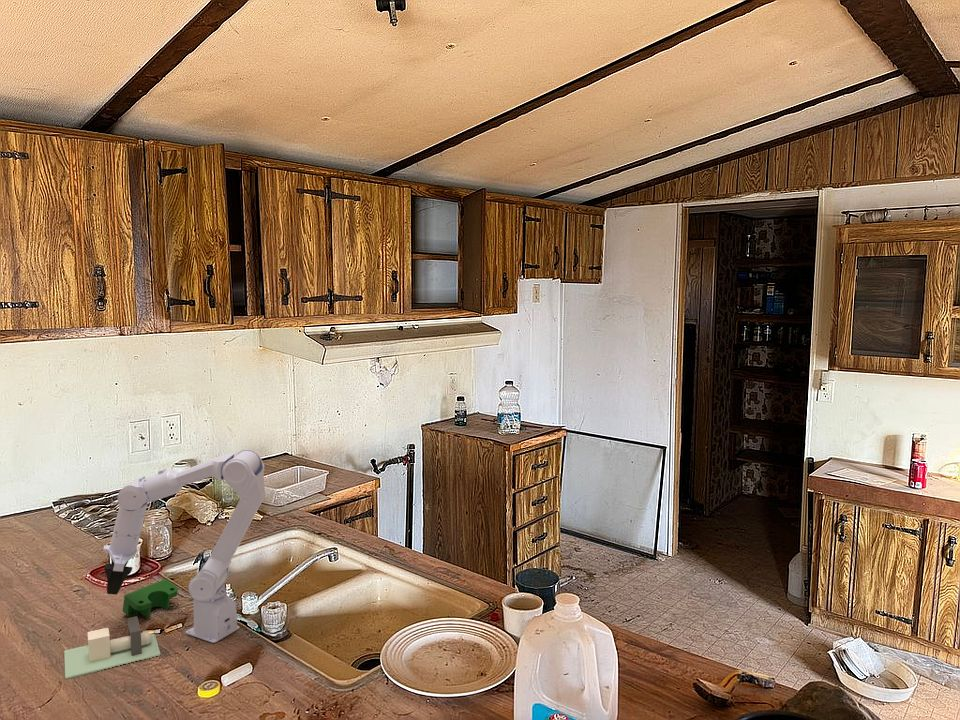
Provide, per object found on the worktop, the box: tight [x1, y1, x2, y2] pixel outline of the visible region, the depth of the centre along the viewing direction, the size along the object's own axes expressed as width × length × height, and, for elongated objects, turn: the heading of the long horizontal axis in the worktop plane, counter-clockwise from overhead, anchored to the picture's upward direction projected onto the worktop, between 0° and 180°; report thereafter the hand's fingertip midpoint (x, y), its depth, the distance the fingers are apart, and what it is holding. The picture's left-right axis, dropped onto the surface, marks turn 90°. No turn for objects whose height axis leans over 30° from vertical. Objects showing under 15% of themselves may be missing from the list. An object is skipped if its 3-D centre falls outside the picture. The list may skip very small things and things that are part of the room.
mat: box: [63, 633, 162, 680], centre depth 151 cm, size 18×12×1 cm, turn 122°
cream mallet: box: [87, 627, 152, 662], centre depth 152 cm, size 12×4×5 cm, turn 122°
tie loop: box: [127, 615, 142, 656], centre depth 153 cm, size 2×7×5 cm, turn 32°
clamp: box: [122, 578, 179, 619], centre depth 170 cm, size 12×6×9 cm, turn 142°
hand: (114, 585), depth 160 cm, fingers open, 7 cm apart
